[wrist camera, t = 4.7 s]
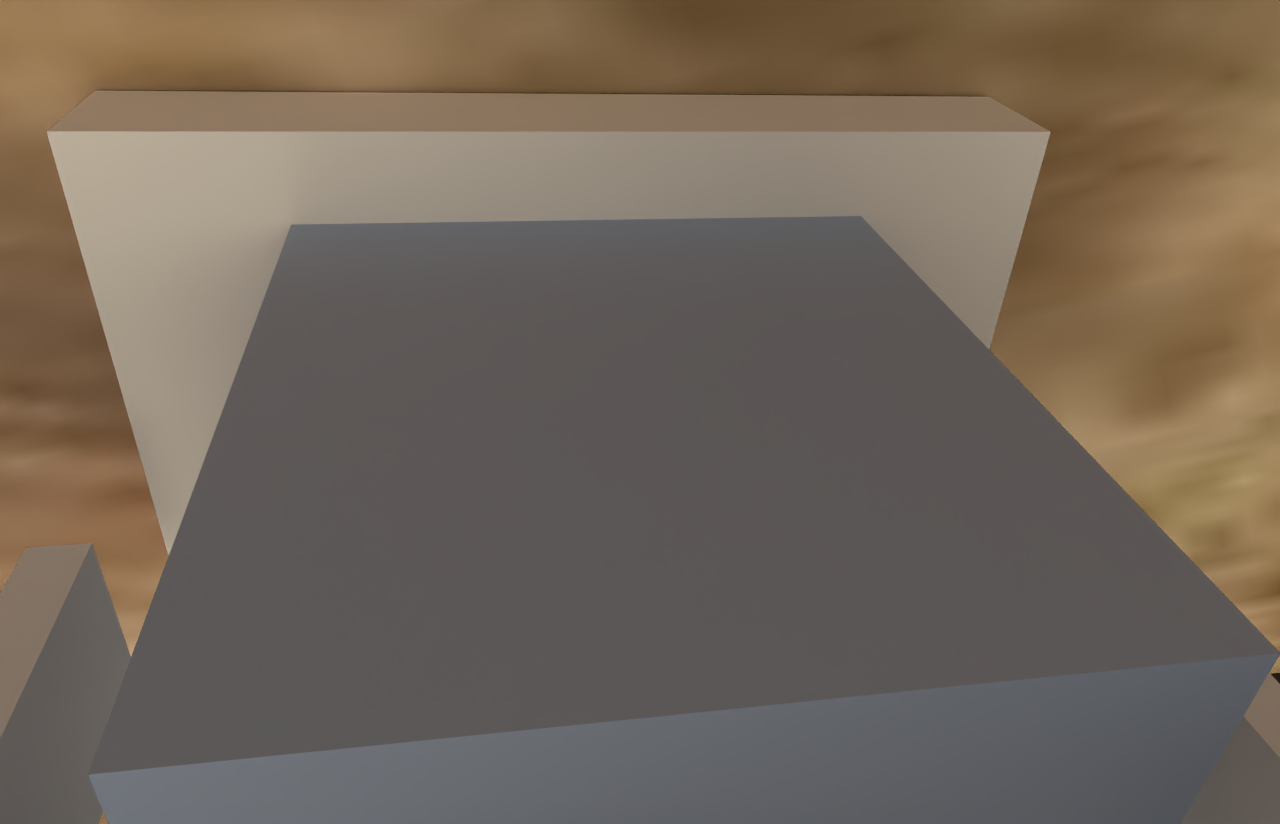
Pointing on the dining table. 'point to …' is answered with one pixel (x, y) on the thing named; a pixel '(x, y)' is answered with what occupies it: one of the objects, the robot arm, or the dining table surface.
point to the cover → (656, 555)
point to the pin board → (488, 201)
